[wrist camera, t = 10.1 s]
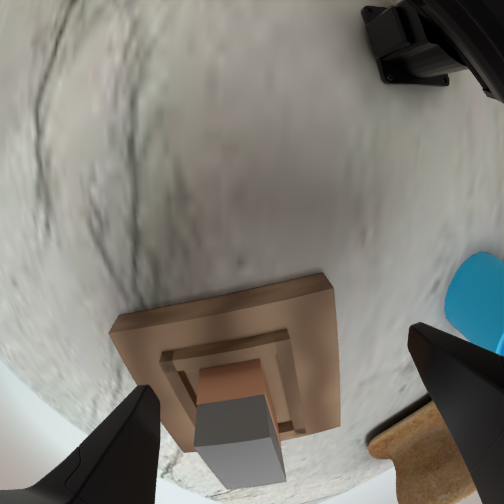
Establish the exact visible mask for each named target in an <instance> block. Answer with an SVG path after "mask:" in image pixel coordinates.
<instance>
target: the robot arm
mask: <svg viewBox="0 0 504 504" xmlns="http://www.w3.org/2000/svg"><path fill="white" fill-rule="evenodd" d="M367 10H368V11H369V12H370V13H371V14H370V13H368V12H367ZM362 14H363V17H364V20H365V23H366V30H367V33H368V36H369V39H370V42H371V46H372V49H373V53H374V56H375V57H376V58H377V62H378V66H379V69H380V73H381V77H382V80H383V81H384V83H386V84H389V85H425V86H441V87H445V86H448V85H449V77H448V73H452V72H457V71H461V70H466V69H469V70H470V71H471V72H472V74H473V75H474V76H475V78H476V79H477V80H478V82H479V83H480V85H481V86H482V87H483V91H484V93H485V94H486V96H487V97H490V98H493V99H496V100H499V101H500V102H502V103H504V0H402V1H400V2H399V3H398V4H396V5H395V6H394V5H392V6H390V7H389V8H384V7H375V6H365V7H364V8H363V9H362ZM387 75H389V76H390V80H389V79H388V78H387ZM443 79H444V81H443ZM408 349H409V352H410V354H411V356H412V358H413V361H414V363H415V365H416V368H417V370H418V372H419V374H420V377H421V379H422V381H423V384H424V385H425V387H426V389H427V391H428V393H429V394H430V396H431V398H432V400H433V402H434V403H435V405H436V407H437V409H438V411H439V413H440V414H441V416H442V418H443V420H444V422H445V424H446V426H447V428H448V430H449V432H450V434H451V435H452V437H453V439H454V441H455V443H456V445H457V447H458V450H459V452H460V454H461V456H462V458H463V460H464V462H465V464H466V466H467V468H468V471H469V472H470V475H471V478H472V480H473V482H474V484H475V487H476V489H477V491H478V494H479V496H480V498H481V501H482V503H483V504H504V356H502V355H500V356H499V354H497V353H495V352H492V351H490V350H487V349H485V348H482V347H480V346H478V345H475V344H473V343H470V342H468V341H466V340H463V339H461V338H458V337H456V336H453V335H451V334H449V333H446V332H444V331H441V330H439V329H436V328H434V327H432V326H429V325H427V324H424V323H422V322H418V323H416V324H413V325H411V326H410V327H409V334H408ZM160 411H161V404H160V400H159V398H158V397H157V395H156V394H155V392H154V390H153V389H152V387H151V386H150V385H148V384H145V385H138V386H137V387H136V388H135V389H134V390H133V391H132V392H131V393H130V394H129V395H128V396H127V397H126V398H125V399H124V400H123V401H122V402H121V403H120V404H119V405H118V406H117V407H116V408H115V409H114V410H113V411H112V412H111V413H110V414H109V416H108V417H107V418H106V419H105V420H104V421H103V422H102V423H101V424H100V425H99V426H98V427H97V428H96V429H95V430H94V431H93V432H92V433H91V434H90V435H89V436H88V437H87V438H86V439H85V440H84V441H83V442H82V443H81V444H80V445H79V447H77V448H76V449H75V450H74V451H73V452H72V453H71V454H70V455H69V456H68V457H67V458H66V459H65V460H64V461H63V462H61V463H60V464H59V465H58V466H57V467H56V468H54V469H53V470H52V471H51V472H50V473H48V474H47V475H46V476H45V477H44V478H42V479H41V480H40V481H38V482H37V483H36V484H34V485H33V486H31V487H28V488H25V489H17V490H0V504H155V491H156V478H157V468H158V458H159V449H160Z"/></svg>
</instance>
